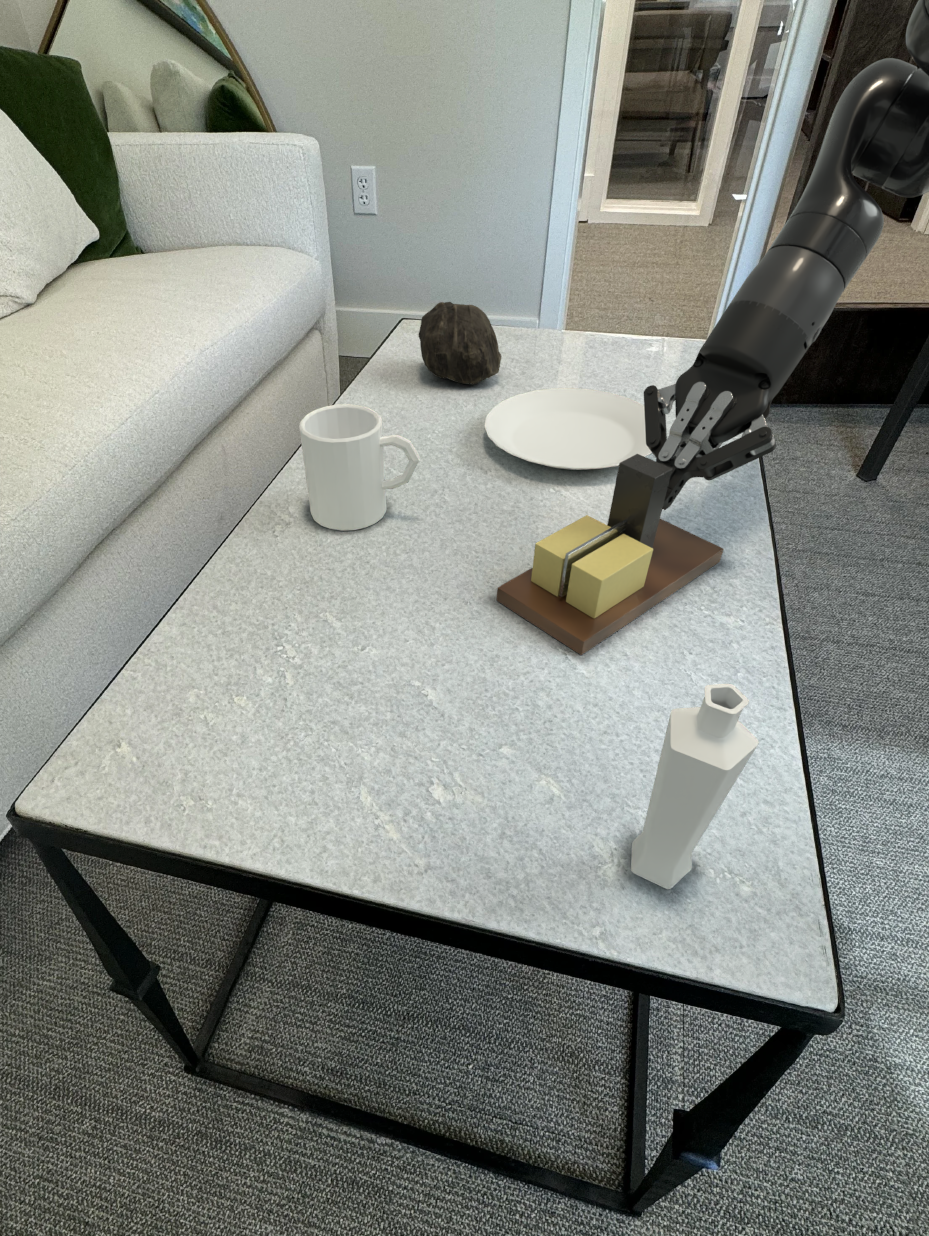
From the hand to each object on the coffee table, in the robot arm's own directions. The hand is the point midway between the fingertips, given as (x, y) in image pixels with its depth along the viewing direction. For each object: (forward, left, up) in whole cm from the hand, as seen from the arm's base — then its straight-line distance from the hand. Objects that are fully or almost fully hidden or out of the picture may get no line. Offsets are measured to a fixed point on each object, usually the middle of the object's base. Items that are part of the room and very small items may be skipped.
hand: (647, 507), depth 65 cm
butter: (+1, +7, -5) cm, 9 cm away
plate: (+18, -18, -7) cm, 26 cm away
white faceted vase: (-18, +27, -7) cm, 33 cm away
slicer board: (0, +3, -6) cm, 7 cm away
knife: (+1, +6, -4) cm, 7 cm away
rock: (+41, -25, -7) cm, 49 cm away
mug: (+26, +9, -7) cm, 29 cm away
